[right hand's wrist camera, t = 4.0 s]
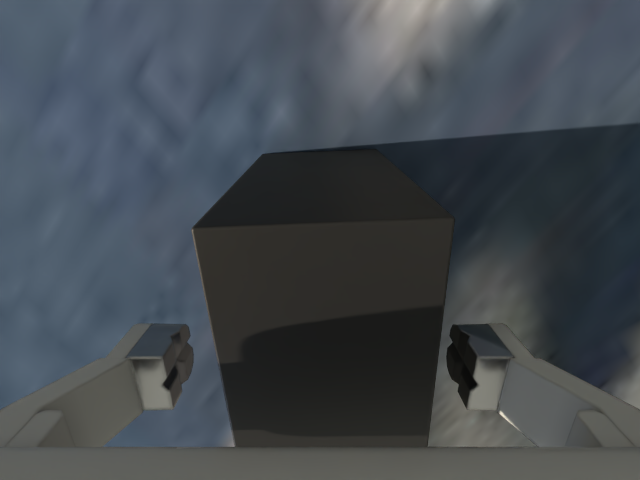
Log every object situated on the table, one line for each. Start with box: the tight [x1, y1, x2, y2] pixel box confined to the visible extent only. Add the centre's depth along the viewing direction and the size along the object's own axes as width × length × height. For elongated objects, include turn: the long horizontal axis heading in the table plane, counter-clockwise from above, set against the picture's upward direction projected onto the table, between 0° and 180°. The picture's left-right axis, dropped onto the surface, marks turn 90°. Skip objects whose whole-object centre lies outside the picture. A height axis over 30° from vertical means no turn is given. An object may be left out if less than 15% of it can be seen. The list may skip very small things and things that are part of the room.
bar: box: [192, 149, 455, 447], centre depth 15 cm, size 23×5×9 cm, turn 2°
